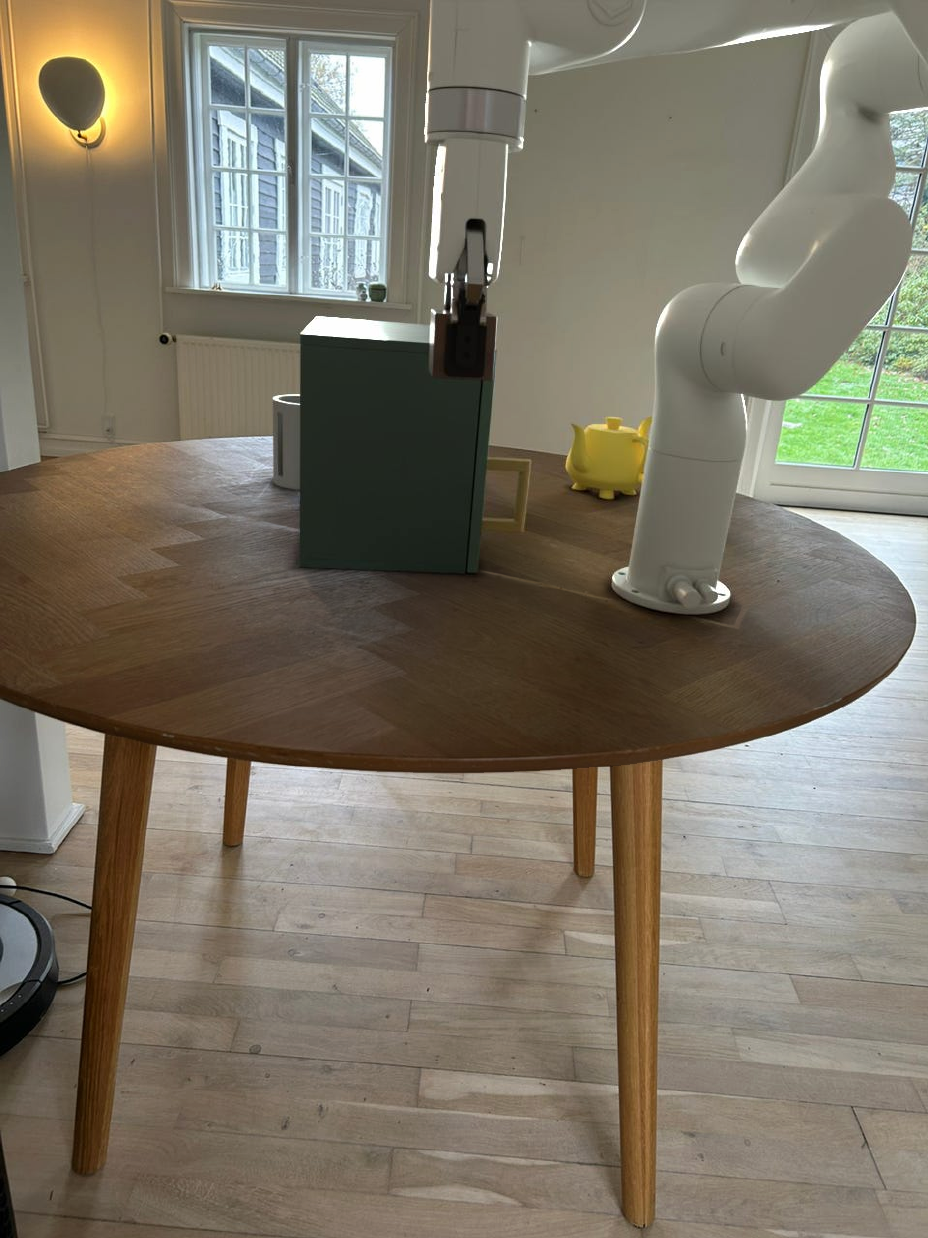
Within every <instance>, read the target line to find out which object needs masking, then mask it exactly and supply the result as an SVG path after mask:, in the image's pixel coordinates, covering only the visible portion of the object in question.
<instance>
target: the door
mask: <svg viewBox="0 0 928 1238" xmlns="http://www.w3.org/2000/svg"><path fill="white" fill-rule="evenodd" d="M497 358H498V349H497V348H496V347H495V356H494V370H493V381H484V380H481V388H480V400H479V412H478V425H477V437H476V449H475V461H474V473H473V485H472V497H471V509H470V521H469V534H468V546H467V558H466V570H465V571H466V573H468V574H469V573H470V574H478V573H479V562H480V552H481V551H480V549H481V539H482V532H500V533H501V532H502V533H503V532H504V533H523V532H524V531H525V524H526V523H525V522H526V513H527V505H528V504H527V503H528V496H529V495H528V494H529V486H530V477H531V467H532V460H531V459H528V458H516V457H514V458H513V457H496V456H489V451H490V450H489V448H490V437H491V427H492V426H491V425H492V414H493V403H494V392H495V380H496V372H497V371H496V369H497ZM488 471H499V472H515V473H516V472H517V473H518V478H517V486H516V487H517V488H516V497H515V506H514V516H513V517H514V518H501V517H483V516H484V506H485V493H486V482H487V473H488Z"/></svg>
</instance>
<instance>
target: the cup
mask: <svg viewBox="0 0 928 1238" xmlns="http://www.w3.org/2000/svg"><path fill="white" fill-rule="evenodd" d="M272 447H273V448H272V461H273V462H272V463H273V464H272V465H273V466H272V470H273V471H272V472H273V473H272V476H273V483H274V484H275V485H276V486H277V487H281V488H285V489H289V490H298V491H300V394H280V395H276V396H273V397H272Z"/></svg>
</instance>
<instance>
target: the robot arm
mask: <svg viewBox="0 0 928 1238" xmlns="http://www.w3.org/2000/svg"><path fill="white" fill-rule="evenodd" d="M429 7H430V8H429V27H428V28H429V29H428V30H429V31H428V53H427V55H428V59H427V86H426V101H425V102H426V103H425V125H424V126H425V127H424V135H425V136H424V144H425V145H428V146H430V147H432V148H438V149H437V156H436V162H435V163H436V164H435V173H434V175H435V176H434V186H433V200H432V201H433V202H432V217H431V218H432V220H431V221H432V222H431V239H430V255H429V269H428V270H429V271H428V275H429V277H430V279H431V280H433V282H436V283H438V284H443V283H444V284H445V285H444V298H443V299H444V300H443V310H451V316H450V323H451V324H447V327H446V346H445V366H444V372H445V374H446V375H447V376H449V377H469V378H481V377H482V376H483V375H484V366H485V352H486V337H487V326H485V325H486V313H488V312H487V311H488V309H487V307H488V288H489V287H490V286H491V285H493V284H494V283H495V282H497V280H498V277H499V270H500V262H501V252H502V245H503V244H502V243H503V233H504V219H505V218H504V217H505V209H506V208H505V207H506V205H505V204H506V189H507V176H508V155H509V154H510V153H511V154H512V153H519V152H522V151H523V147H524V133H525V120H526V108H527V92H528V81H529V80H528V79H529V76H539V75H545V74H550V73H557V72H562V71H567V70H574V69H579V68H580V69H581V68H585V67H590V66H591V67H592V66H597V65H602V64H607V63H613V62H619V61H624V60H631V59H637V58H644V57H653V56H662V55H663V56H665V55H676V54H684V53H685V54H686V53H692V52H696V51H702V50H707V49H712V48H718V47H724V46H730V45H735V44H739V43H746V42H750V41H756V40H761V39H767V38H768V39H769V38H773V37H774V38H775V37H781V36H787V35H793V34H799V33H805V32H810V31H815V30H820V29H824V28H829V27H834V26H837V25H841V24H845V23H848V22H851V23H850V24H849V25H847V26H846V27H845V28H844V29H843V30H842V31H841V32H840V33H839V34H837V36H836V37H835V38H834V40H833V41H832V43H831V45H830V47H829V48H828V50H827V53H826V55H825V57H824V59H823V63H822V67H821V72H820V81H819V101H820V102H819V105H820V111H819V112H820V114H819V119H820V120H819V129H818V136H817V140H816V143H815V146H814V149H813V150H812V152H811V153H810V155H809V156H808V157H807V159H806V160H805V162H804V163H803V164H802V166H801V167H800V168H799V170H798V171H797V172H796V173H795V174H794V175H793V177H792V178H791V179H790V180H789V181H788V183H787V184H786V185H785V186H784V187H783V189H782V190H781V191H780V192H779V193H778V194H777V196H775V198H774V199H773V200H772V201H771V202H770V203H769V204H768V206H767V207H766V208H765V209H764V210H763V211H762V213H761V214H760V215H759V216H758V217H757V219H756V220H755V221H754V222H753V224H752V225H751V226H750V227H749V230H747V232H746V234H745V235H744V236H743V238H742V241H741V242H740V245H739V247H738V249H737V252H736V255H735V256H736V257H735V274H736V277H737V280H738V281H739V283H733V282H704V283H699V284H695V285H693V286H689V287H687V288H685V289H683V290H681V291H680V292H679V293H677V294H676V295H674V297H673V298H671V300H670V301H669V302H668V303H667V304H666V306H665V308H664V309H663V311H662V313H661V314H660V317H659V319H658V322H657V325H656V329H655V336H654V349H653V351H654V352H653V353H654V385H655V386H654V398H653V399H654V400H653V410H652V416H651V417H652V423H651V424H650V431H649V437H648V438H649V439H648V440H649V444H648V450H647V455H646V462H645V468H644V474H643V480H642V485H641V487H640V493H639V500H638V506H637V512H636V519H635V525H634V532H633V537H632V545H631V549H630V557H629V563H628V566H626V567H622V568H620V569H618V570H616V571H615V572H614V573H613V574H612V578H611V585H610V586H611V589H612V590H613V591H614V592H615V593H616V594H617V595H618V596H619V597H620V598H622V599H624V600H625V601H628V602H630V603H632V604H634V605H637V606H640V607H643V608H645V609H646V608H647V609H649V610H654V611H658V612H663V613H670V614H678V615H694V616H695V615H696V616H697V615H708V614H714V613H717V612H721V611H722V610H724V609H725V608H727V606H728V605H729V603H730V598H731V592H730V590H729V589H728V588H727V586H726V585H725V584H723V583H722V582H721V581H719V578H720V572H721V567H722V562H723V557H724V554H725V553H724V552H725V548H726V543H727V538H728V534H729V528H730V525H731V524H730V523H731V517H732V514H733V509H734V503H735V500H736V494H737V490H738V484H739V480H740V476H741V475H740V474H741V469H742V463H743V460H744V457H745V451H746V447H747V438H748V417H747V411H746V405H745V400H744V396H746V397H751V398H756V399H759V400H760V399H761V400H765V401H774V402H781V401H789V400H792V399H795V398H797V397H800V396H802V395H804V394H806V392H808V391H809V390H811V388H813V387H814V386H815V385H817V384H818V383H819V382H820V381H821V380H822V379H823V378H824V377H825V376H826V374H828V373H829V371H830V370H831V369H832V368H833V367H834V365H835V364H836V363H837V362H838V361H839V360H840V358H841V357H842V356H843V355H844V354H845V353H846V351H847V350H848V349H849V348H850V347H851V346H852V344H853V343H854V342H855V341H856V340H857V339H858V338H859V336H860V335H861V334H862V333H863V331H865V329H867V327H868V325H869V324H870V323H871V322H872V321H873V320H874V319H875V318H876V316H877V315H878V314H879V313H880V311H882V309H883V308H884V306H885V305H886V304H887V303H888V302H889V300H890V299H891V298H892V296H894V293H896V292H895V291H896V290H897V289H898V287H899V285H900V283H901V282H902V279H903V278H904V275H905V273H906V270H907V267H908V264H909V261H910V258H911V253H912V248H913V227H912V223H911V220H910V218H909V216H908V213H907V212H906V211H905V209H904V208H903V207H902V206H901V205H900V204H899V203H898V202H897V201H895V200H893V199H892V198H889V196H890V194H891V192H892V190H893V187H894V184H895V182H896V176H897V175H896V174H897V161H896V156H895V151H894V148H893V147H894V146H893V142H892V141H893V140H892V130H891V114H893V115H894V114H900V113H908V112H915V111H923V110H928V0H430V4H429ZM852 21H853V22H852ZM444 279H445V281H444Z"/></svg>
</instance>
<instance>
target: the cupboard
mask: <svg viewBox="0 0 928 1238" xmlns="http://www.w3.org/2000/svg"><path fill="white" fill-rule="evenodd" d="M429 347H430V324H422V323H421V324H420V323H409V322H408V323H407V322H395V321H382V320H381V321H380V320H369V319H368V320H367V319H356V318H340V317H329V316H328V317H327V316H315V317H314V319H313V320H312V321H311V322H310V323H309V324H308V325H306V327H305V328H304V329H303V330H302V331H301V332H300V333H299V375H300V376H299V395H300V490H299V568H309V569H310V568H312V569H337V570H360V571H385V572H386V571H387V572H388V571H389V572H409V573H410V572H411V573H413V572H414V573H439V574H461V575H462V574H466V571H467V570H466V558H467V546H468V534H469V521H470V509H471V497H472V485H473V473H474V461H475V449H476V437H477V425H478V412H479V400H480V388H481V380H464V379H444V378H432V376H431V374H430V372H429Z"/></svg>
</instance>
